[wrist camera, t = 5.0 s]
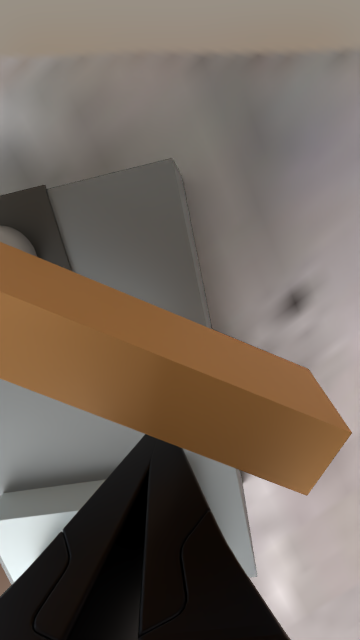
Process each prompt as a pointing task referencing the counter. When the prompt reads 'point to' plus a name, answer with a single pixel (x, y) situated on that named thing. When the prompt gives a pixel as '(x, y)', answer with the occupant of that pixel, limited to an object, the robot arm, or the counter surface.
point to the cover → (37, 520)
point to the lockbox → (128, 277)
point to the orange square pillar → (161, 372)
